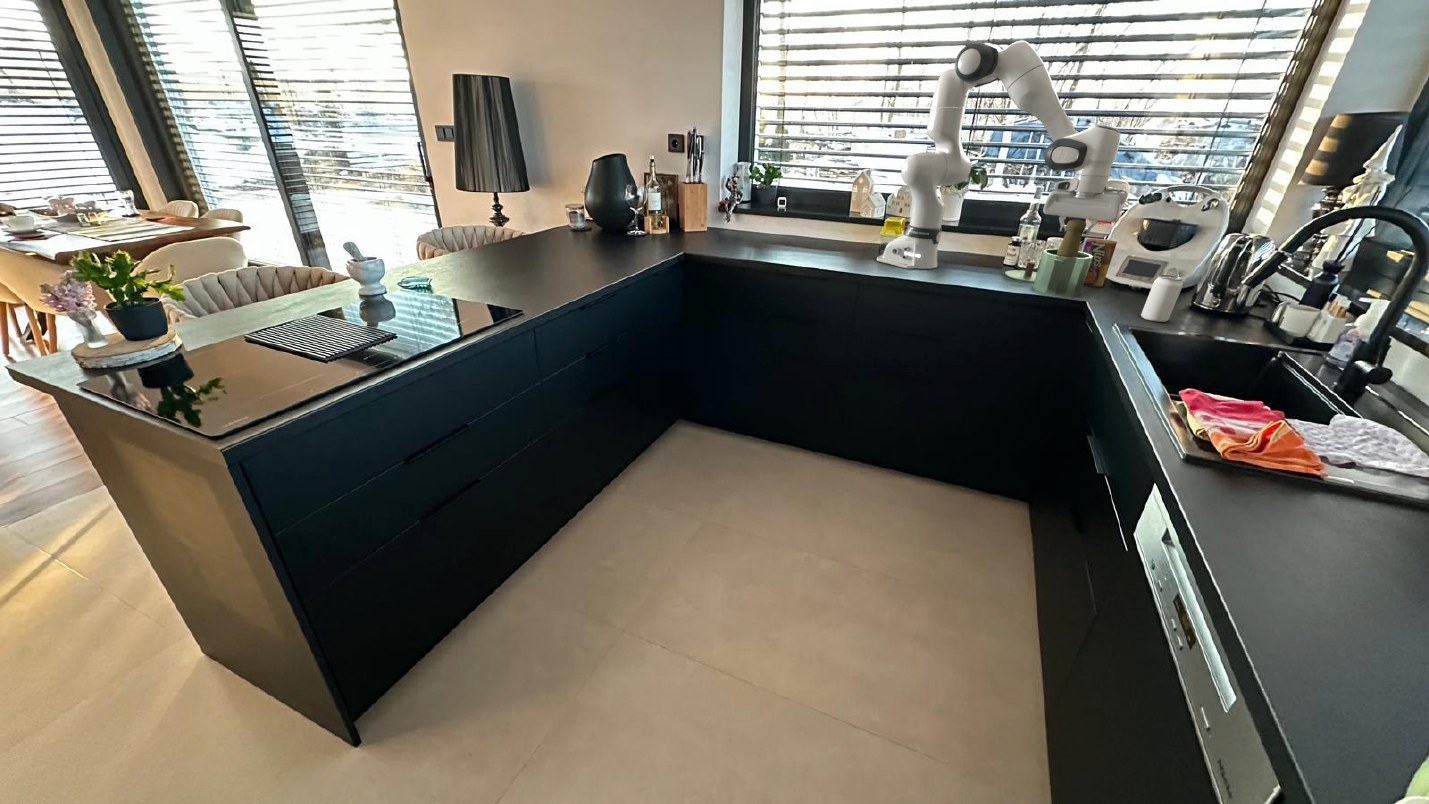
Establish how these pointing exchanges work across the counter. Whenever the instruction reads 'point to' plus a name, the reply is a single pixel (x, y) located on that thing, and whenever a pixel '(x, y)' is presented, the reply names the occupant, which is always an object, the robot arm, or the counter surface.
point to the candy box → (1098, 259)
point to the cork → (1072, 239)
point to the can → (1162, 298)
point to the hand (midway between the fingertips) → (1073, 232)
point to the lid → (1023, 273)
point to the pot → (1061, 273)
